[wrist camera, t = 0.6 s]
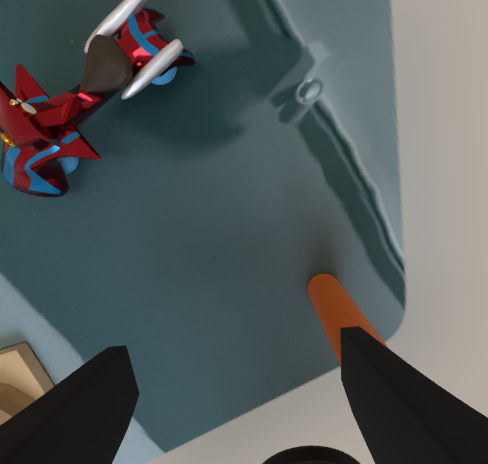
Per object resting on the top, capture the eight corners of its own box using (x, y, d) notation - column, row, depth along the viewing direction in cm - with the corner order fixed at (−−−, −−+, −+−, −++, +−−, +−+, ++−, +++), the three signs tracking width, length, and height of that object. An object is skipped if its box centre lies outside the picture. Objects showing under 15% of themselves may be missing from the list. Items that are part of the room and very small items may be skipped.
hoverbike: (12, 147, 16) (-113, 139, 10) (154, 4, 14) (90, -103, 8) (73, 212, 17) (-13, 236, 11) (215, 88, 15) (193, 43, 9)
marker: (343, 297, 18) (431, 425, 9) (311, 306, 18) (367, 438, 9) (335, 268, 17) (421, 374, 9) (302, 277, 17) (354, 391, 9)
